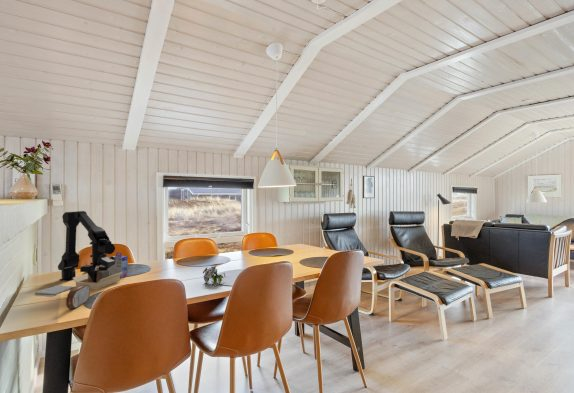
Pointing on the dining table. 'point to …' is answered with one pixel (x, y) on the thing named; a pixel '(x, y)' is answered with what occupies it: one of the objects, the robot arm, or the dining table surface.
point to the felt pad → (54, 290)
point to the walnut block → (99, 275)
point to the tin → (77, 296)
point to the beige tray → (103, 282)
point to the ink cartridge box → (119, 266)
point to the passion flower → (212, 275)
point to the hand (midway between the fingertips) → (98, 281)
